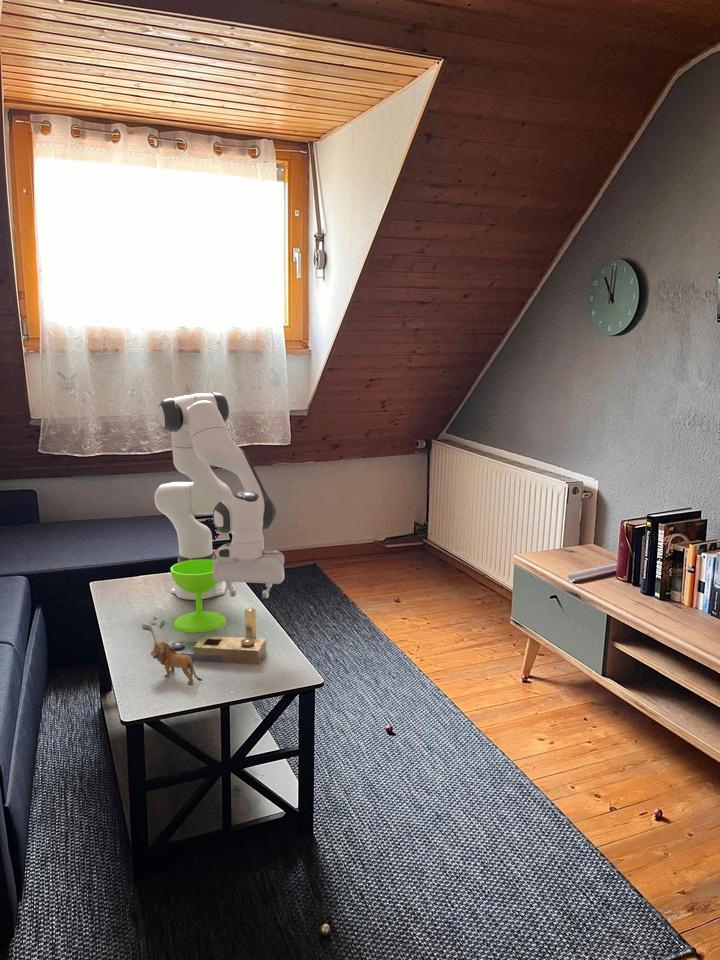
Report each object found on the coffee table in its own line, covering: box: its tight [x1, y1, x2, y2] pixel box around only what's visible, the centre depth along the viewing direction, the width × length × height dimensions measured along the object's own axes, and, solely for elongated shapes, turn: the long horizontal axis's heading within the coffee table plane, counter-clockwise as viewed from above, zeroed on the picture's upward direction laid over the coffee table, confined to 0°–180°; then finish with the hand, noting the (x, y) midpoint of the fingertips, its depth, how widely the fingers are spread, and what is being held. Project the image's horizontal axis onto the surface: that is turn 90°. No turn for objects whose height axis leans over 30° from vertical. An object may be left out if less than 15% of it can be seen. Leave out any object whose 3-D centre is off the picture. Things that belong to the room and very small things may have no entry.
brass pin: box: [244, 607, 257, 639], centre depth 215 cm, size 3×3×10 cm
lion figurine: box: [150, 642, 203, 686], centre depth 193 cm, size 15×5×9 cm, turn 68°
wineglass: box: [170, 559, 227, 633], centre depth 229 cm, size 16×16×18 cm
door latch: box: [166, 635, 267, 666], centre depth 207 cm, size 8×28×5 cm, turn 82°
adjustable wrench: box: [141, 615, 167, 643], centre depth 221 cm, size 25×6×2 cm, turn 18°
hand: (249, 596), depth 213 cm, fingers open, 8 cm apart
